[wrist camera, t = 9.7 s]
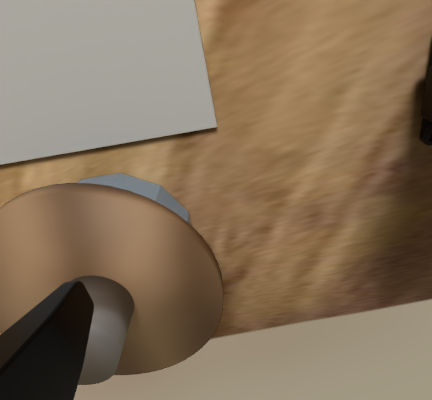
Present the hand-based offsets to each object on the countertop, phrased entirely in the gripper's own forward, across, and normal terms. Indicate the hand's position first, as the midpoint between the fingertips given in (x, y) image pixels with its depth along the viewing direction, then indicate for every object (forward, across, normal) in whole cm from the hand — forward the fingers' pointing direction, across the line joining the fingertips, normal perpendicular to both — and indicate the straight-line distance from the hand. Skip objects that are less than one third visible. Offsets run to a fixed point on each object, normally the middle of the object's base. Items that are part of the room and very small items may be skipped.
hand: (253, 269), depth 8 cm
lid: (+8, +9, +7) cm, 14 cm away
